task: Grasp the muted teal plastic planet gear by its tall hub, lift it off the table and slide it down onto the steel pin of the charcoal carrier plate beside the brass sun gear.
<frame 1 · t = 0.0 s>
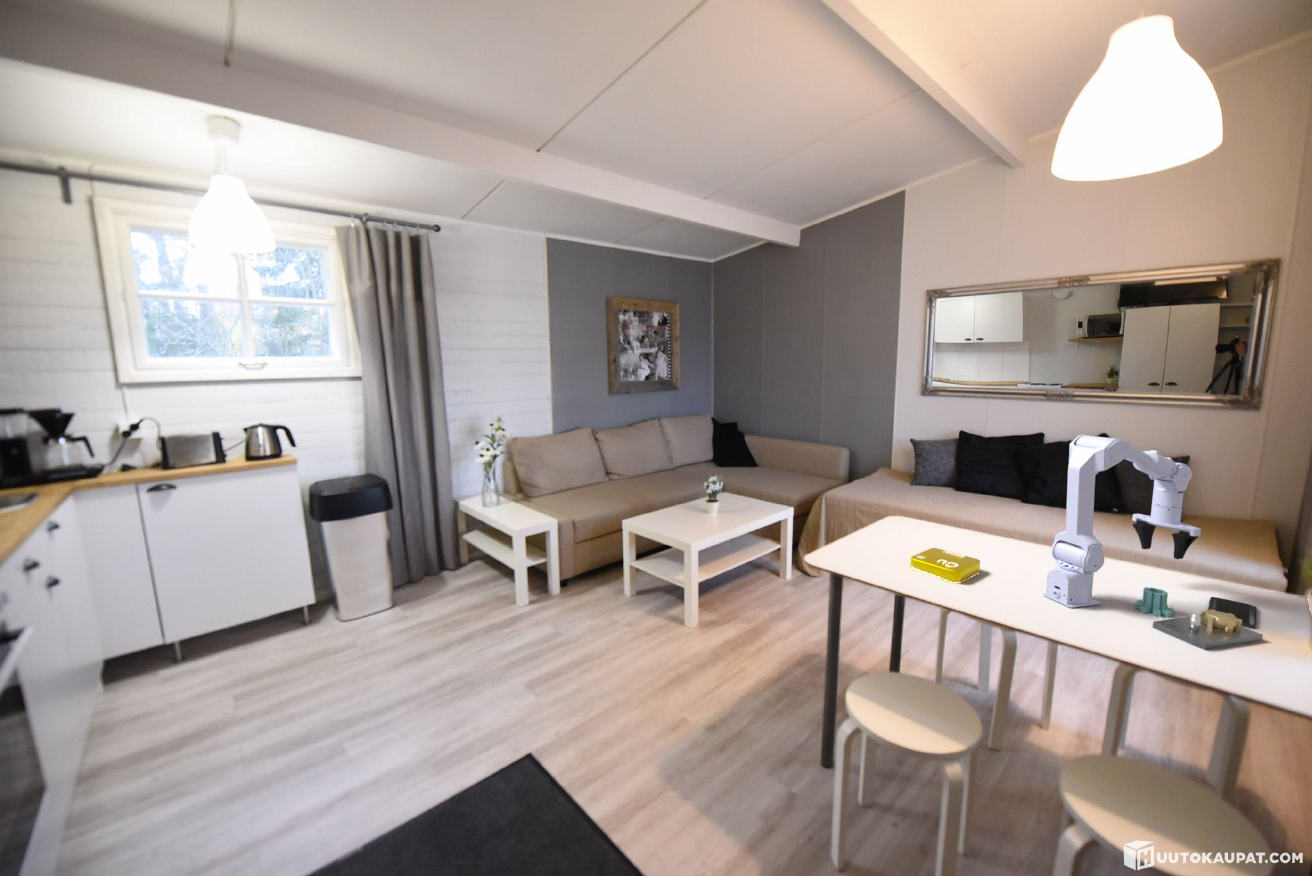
hand: (1161, 553, 137), 10 cm above the table, tool pointing down, fingers open, 7 cm apart
element tile: (944, 572, 155), on the table
phone: (1231, 615, 124), on the table
carrier: (1205, 634, 115), on the table
planet gear: (1153, 610, 127), on the table
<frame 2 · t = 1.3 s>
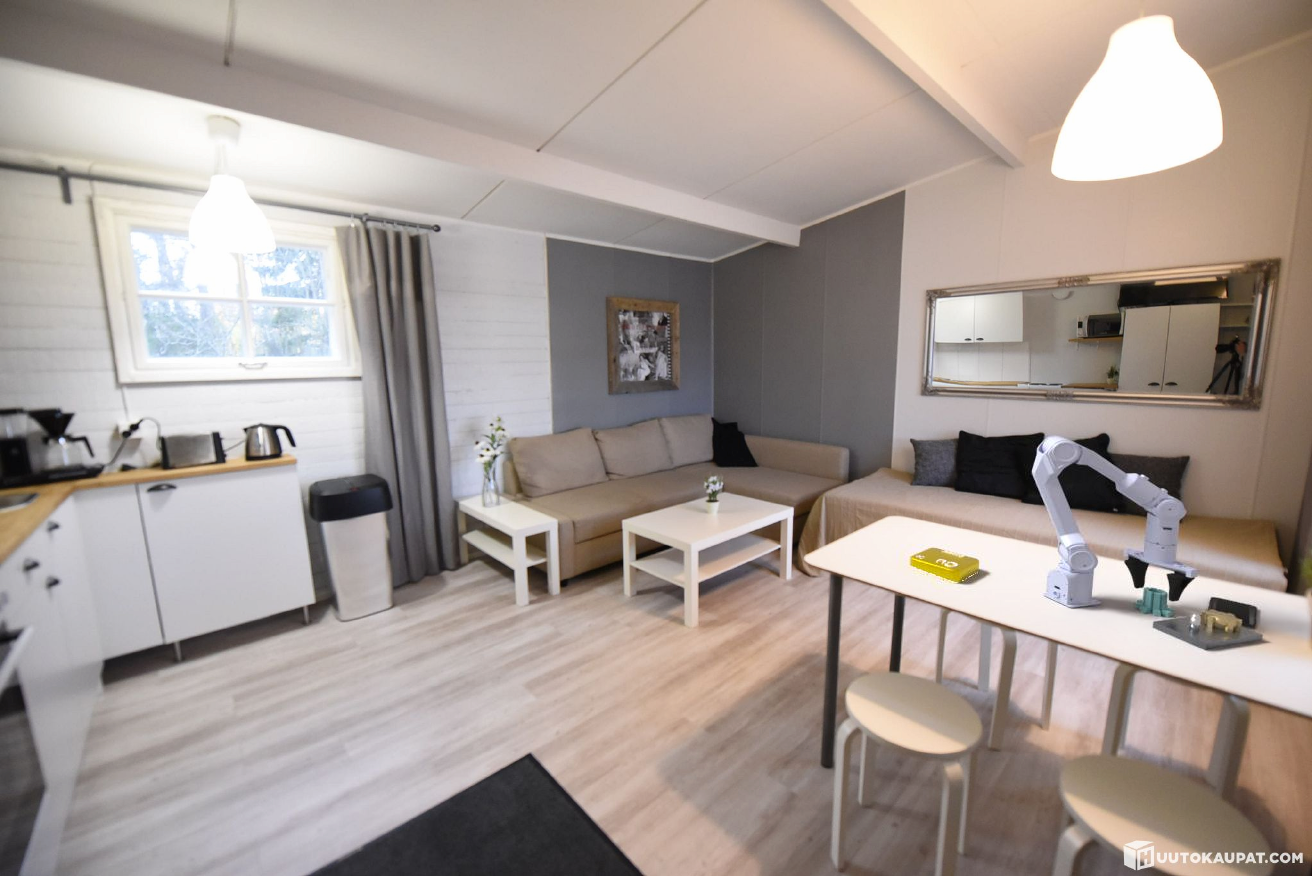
hand: (1155, 593, 126), 4 cm above the table, tool pointing down, fingers open, 7 cm apart
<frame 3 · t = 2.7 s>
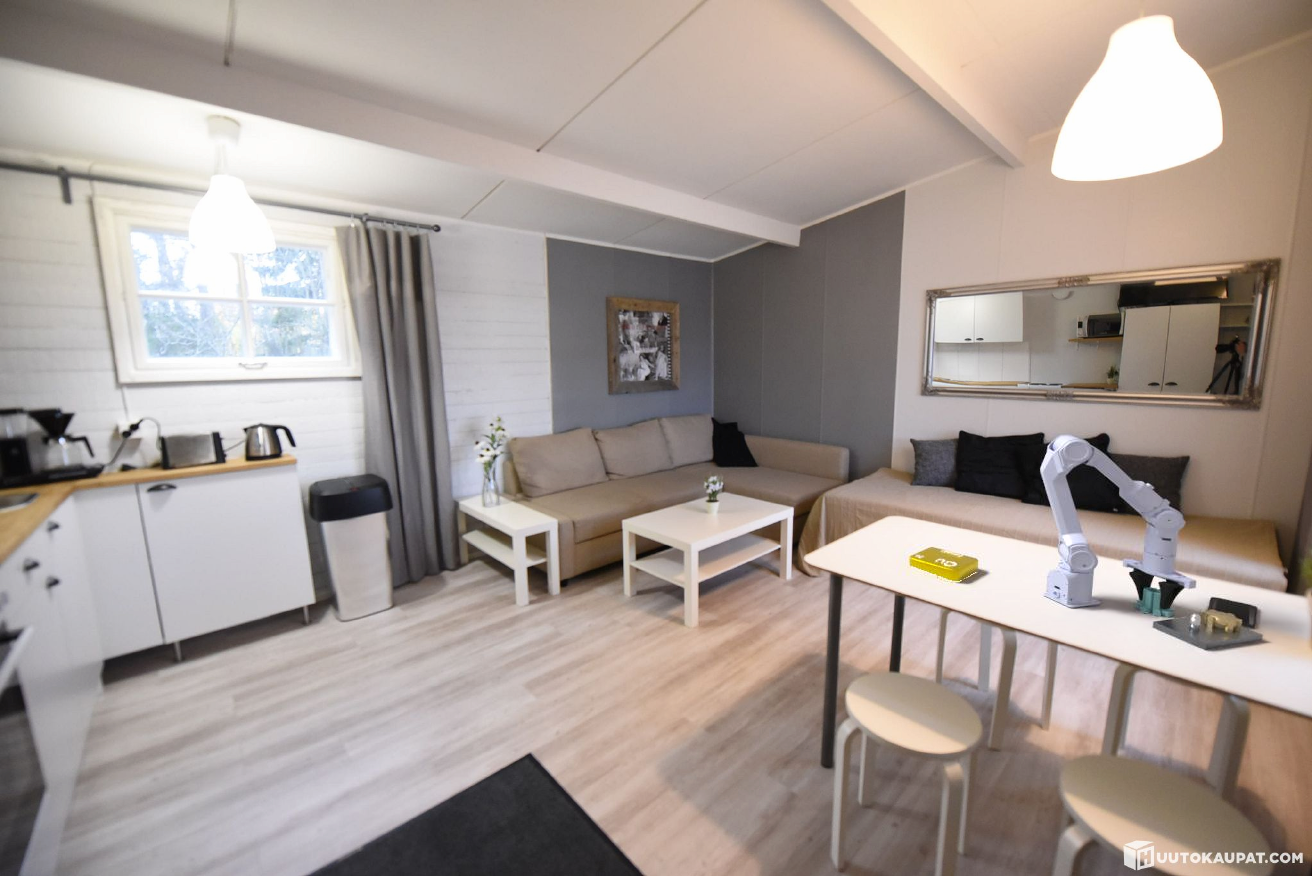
hand: (1154, 604, 126), 2 cm above the table, tool pointing down, fingers closed on planet gear, 4 cm apart
planet gear: (1153, 610, 127), on the table, touching gripper
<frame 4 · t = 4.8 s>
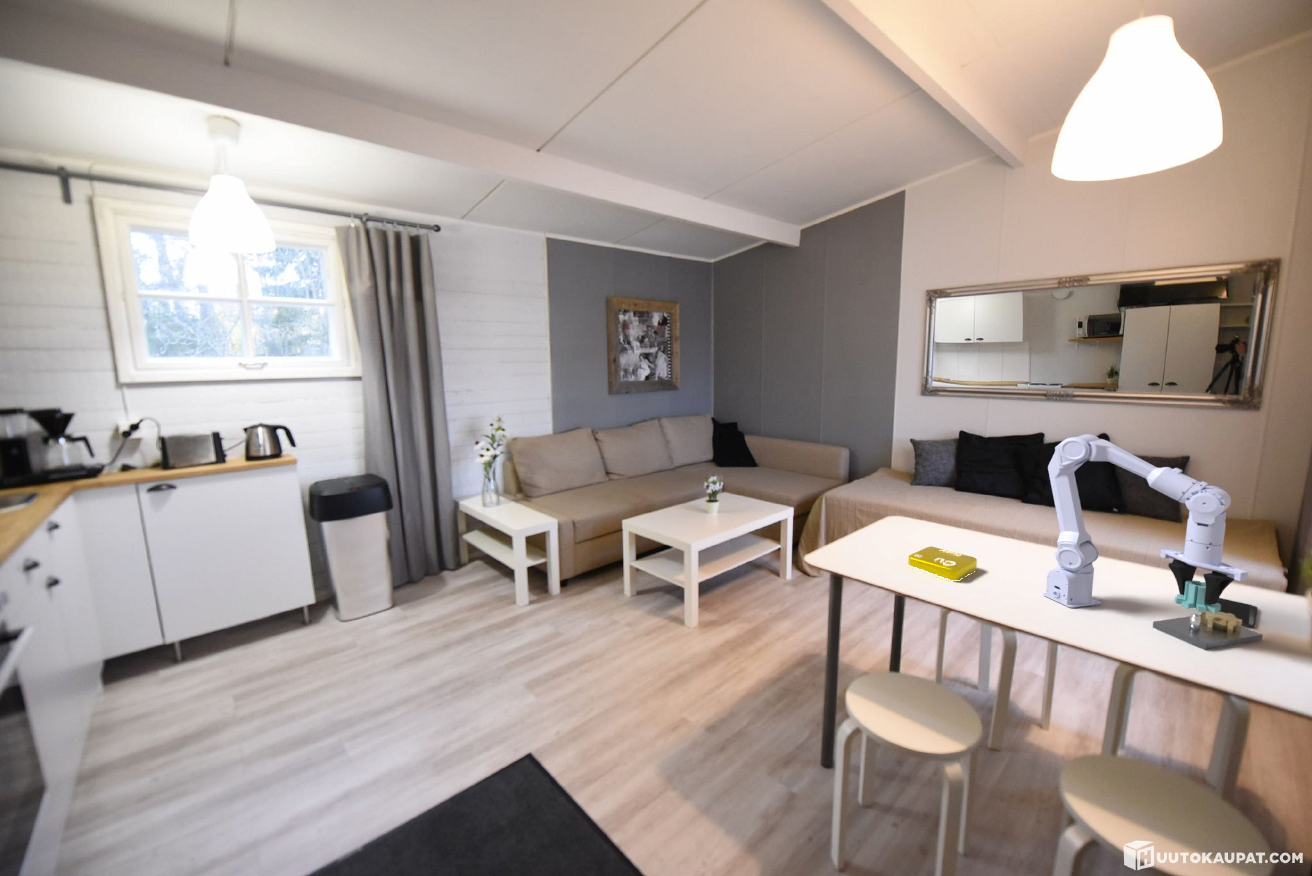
hand: (1197, 598, 114), 9 cm above the table, tool pointing down, fingers closed on planet gear, 4 cm apart
planet gear: (1197, 605, 114), point 7 cm above the table, touching gripper
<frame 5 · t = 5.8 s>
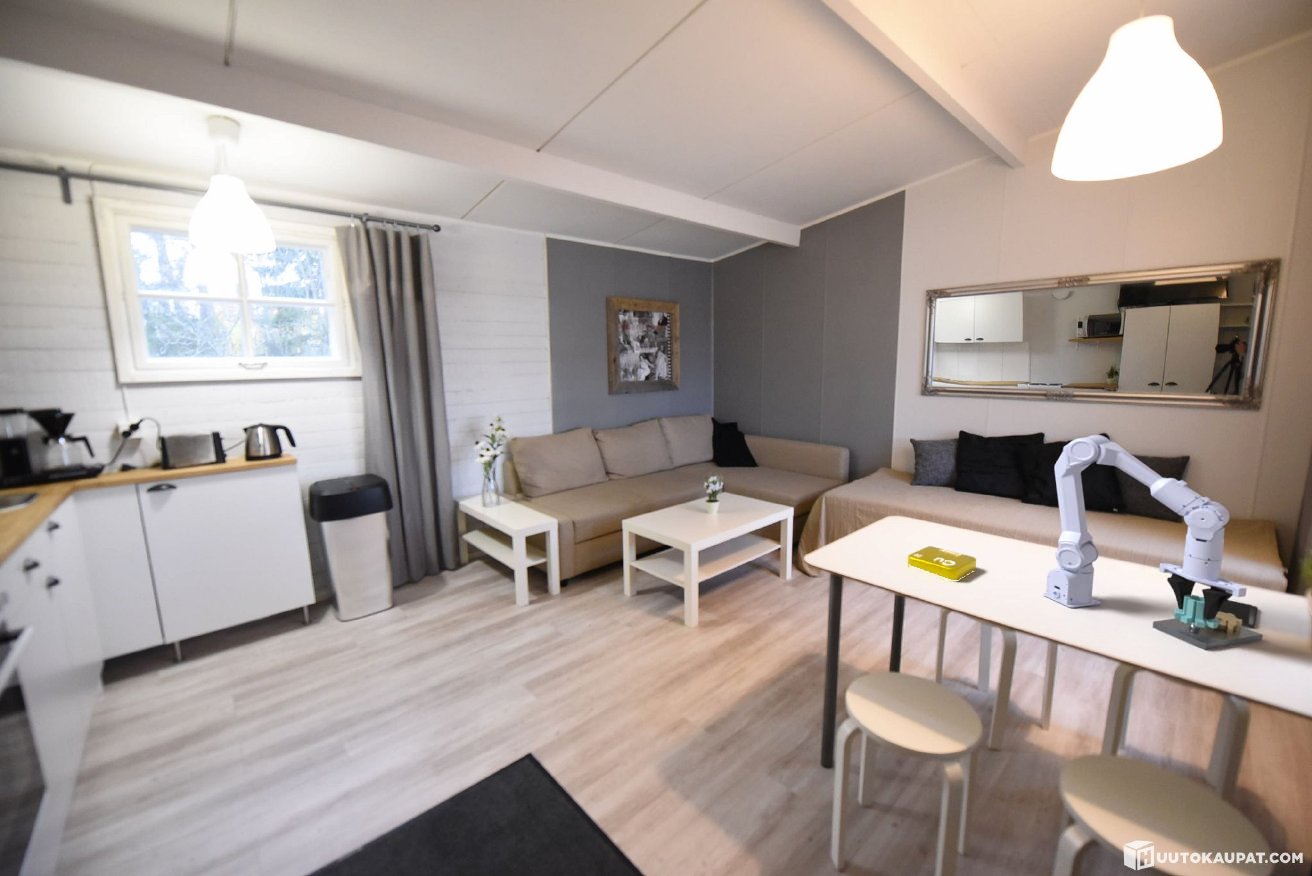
hand: (1196, 613, 114), 5 cm above the table, tool pointing down, fingers closed on planet gear, 4 cm apart
planet gear: (1195, 620, 114), point 4 cm above the table, touching gripper
when the fingers open (4 cm above the table, at t = 6.9 s): planet gear stays where it is, resting on carrier.
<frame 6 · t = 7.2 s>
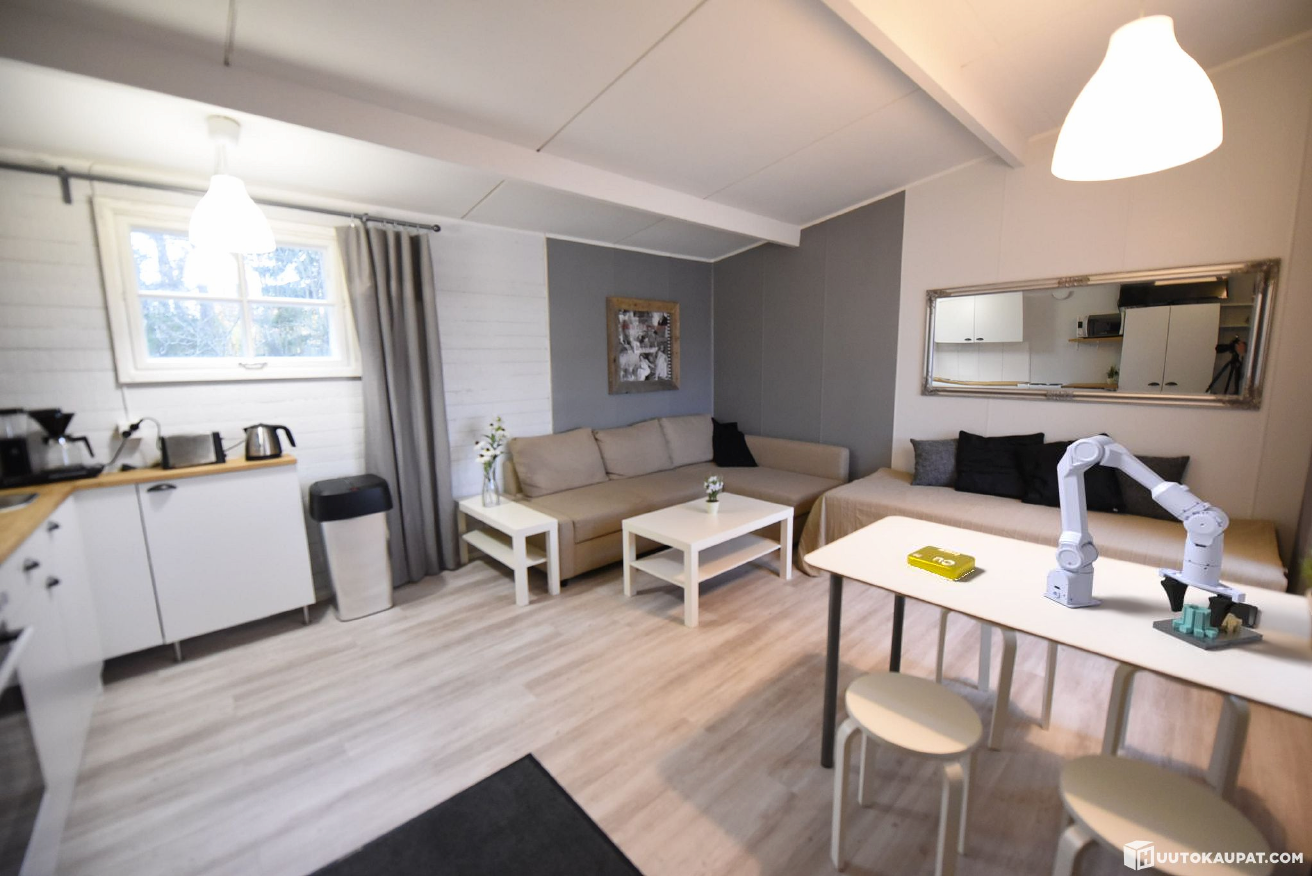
hand: (1195, 618, 114), 4 cm above the table, tool pointing down, fingers open, 7 cm apart
planet gear: (1194, 629, 114), point 1 cm above the table, touching carrier
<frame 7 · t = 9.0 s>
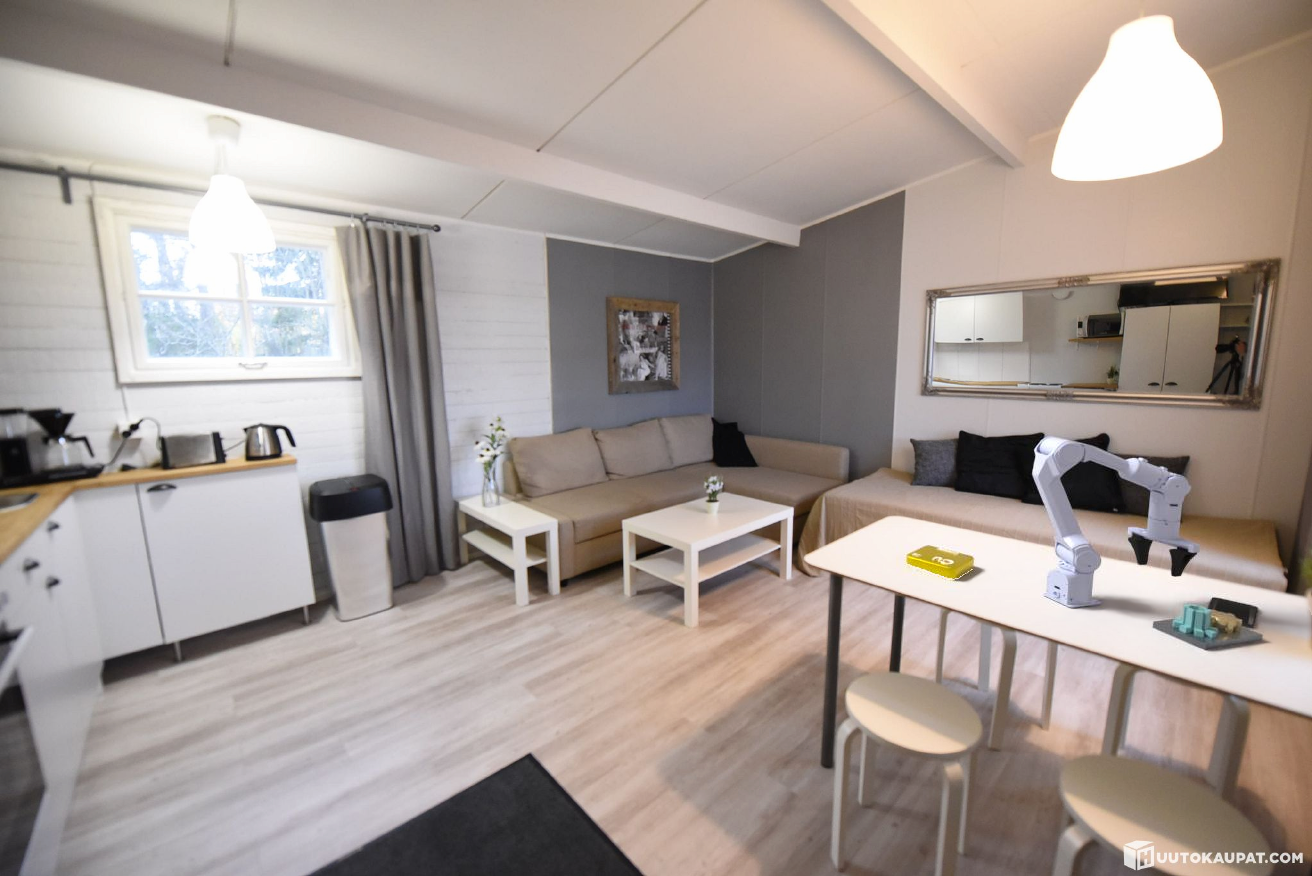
hand: (1158, 570, 128), 9 cm above the table, tool pointing down, fingers open, 7 cm apart
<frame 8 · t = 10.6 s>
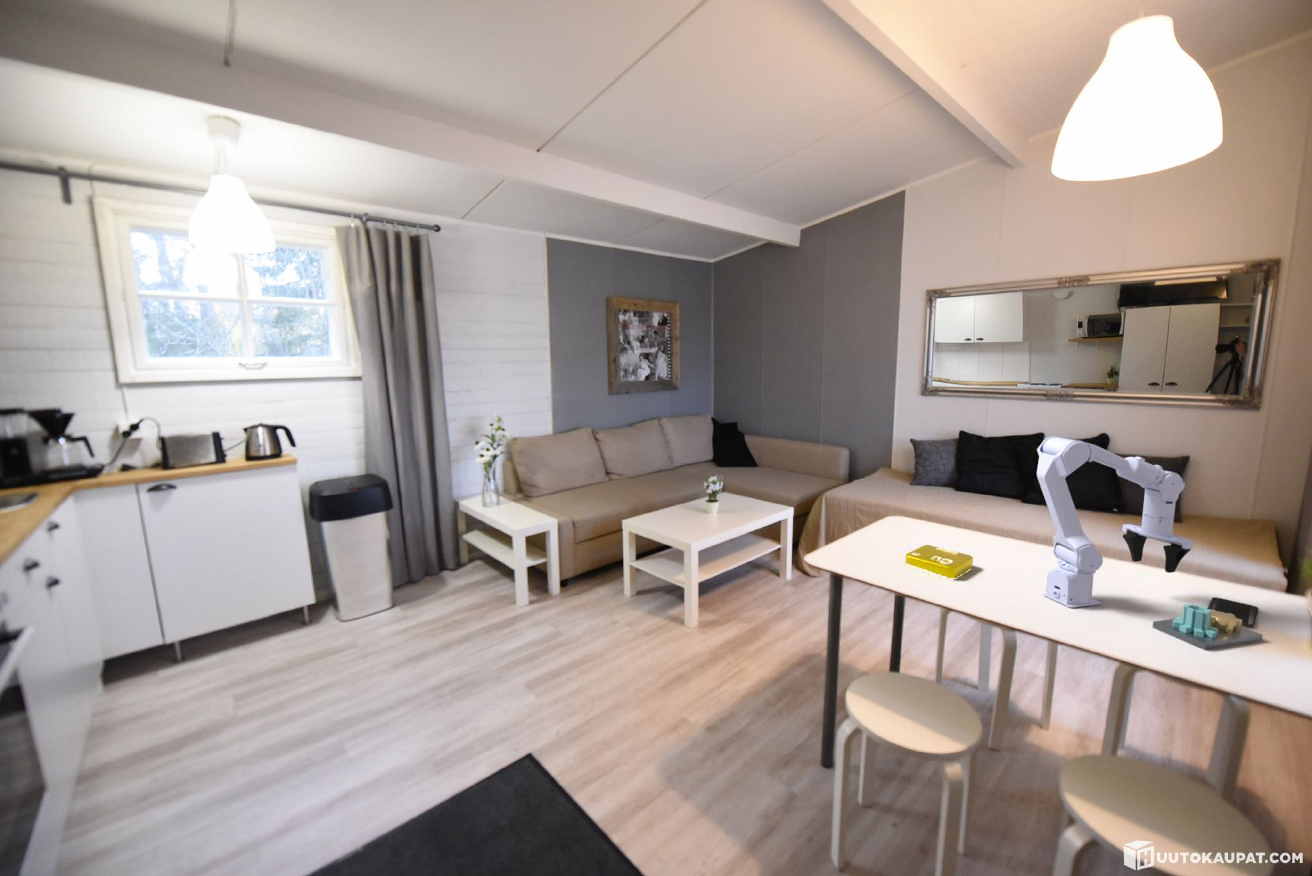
hand: (1152, 566, 131), 9 cm above the table, tool pointing down, fingers open, 7 cm apart
at the end: planet gear 0.1 cm from the target spot on the carrier, point 1.5 cm above the carrier's base; planet gear tilted 0°; the gripper is holding nothing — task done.
